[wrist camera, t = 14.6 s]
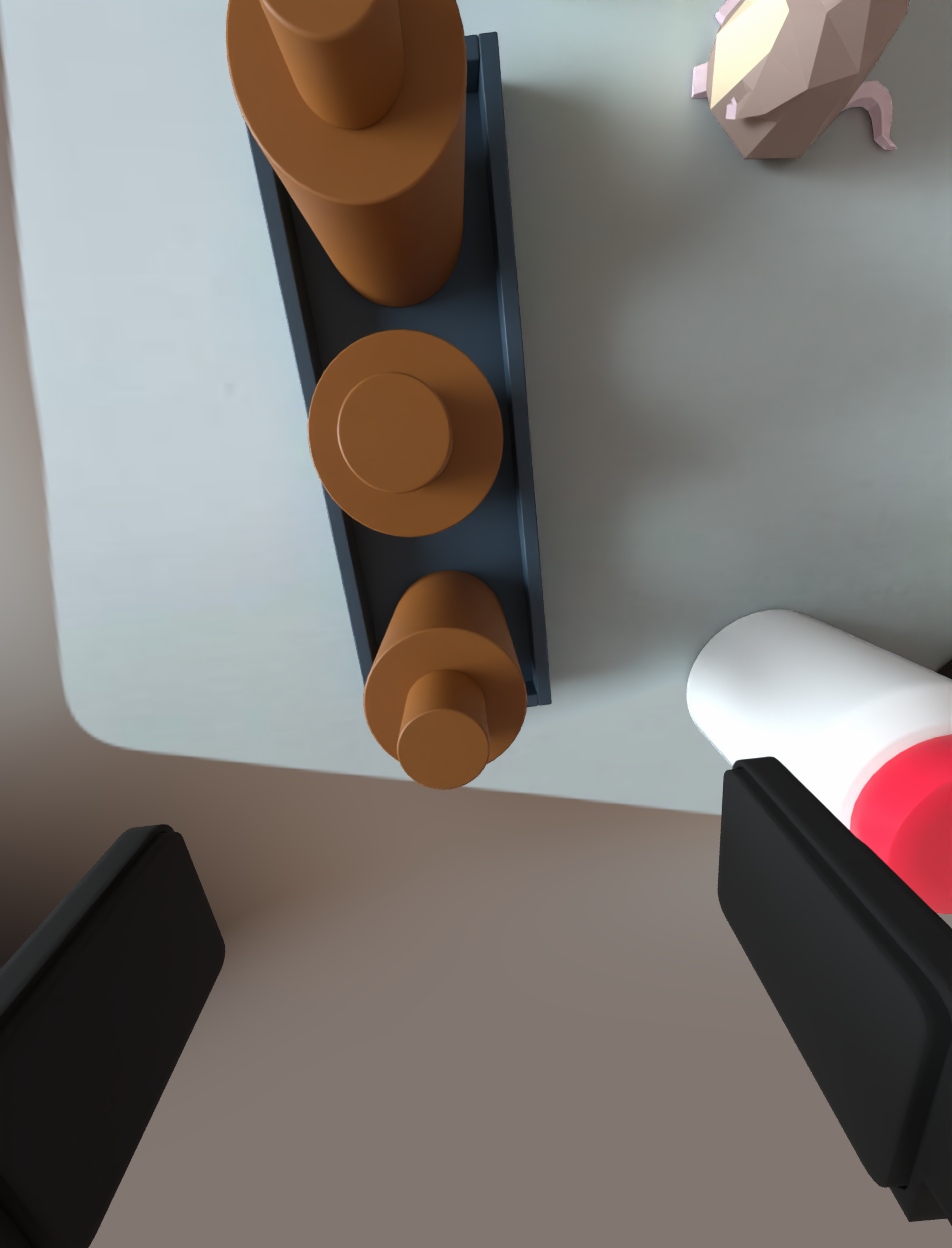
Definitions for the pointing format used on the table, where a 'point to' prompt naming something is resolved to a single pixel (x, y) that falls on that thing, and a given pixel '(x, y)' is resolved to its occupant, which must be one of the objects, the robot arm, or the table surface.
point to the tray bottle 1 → (362, 129)
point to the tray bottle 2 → (405, 433)
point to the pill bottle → (839, 733)
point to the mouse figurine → (796, 70)
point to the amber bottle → (446, 681)
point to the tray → (482, 329)
